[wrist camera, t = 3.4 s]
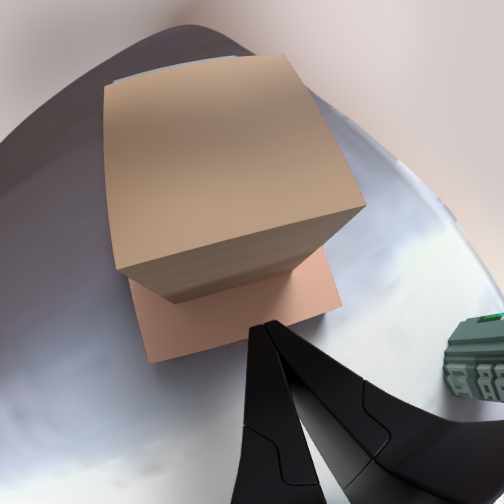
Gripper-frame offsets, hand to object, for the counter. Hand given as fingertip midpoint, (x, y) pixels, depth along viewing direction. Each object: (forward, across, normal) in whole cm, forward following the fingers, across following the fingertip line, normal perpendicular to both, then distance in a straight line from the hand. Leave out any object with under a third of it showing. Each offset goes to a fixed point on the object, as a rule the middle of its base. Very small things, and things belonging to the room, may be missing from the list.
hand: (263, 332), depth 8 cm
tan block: (+7, 0, 0) cm, 7 cm away
